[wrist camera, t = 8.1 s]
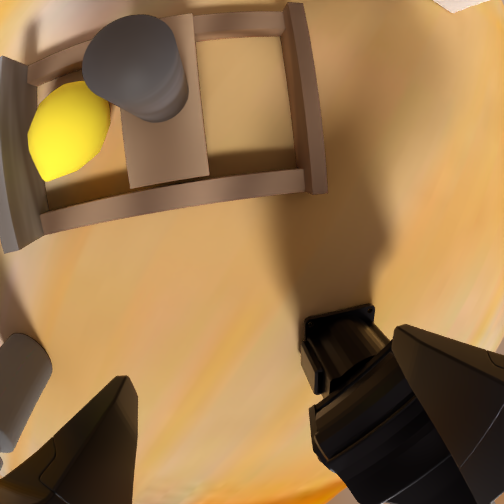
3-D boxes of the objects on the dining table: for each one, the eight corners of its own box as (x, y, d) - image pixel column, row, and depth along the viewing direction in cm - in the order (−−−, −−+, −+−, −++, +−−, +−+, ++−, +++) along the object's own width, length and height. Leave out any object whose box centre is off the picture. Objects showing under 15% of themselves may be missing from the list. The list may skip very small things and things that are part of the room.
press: (291, 20, 16) (312, -11, 11) (312, 187, 20) (341, 197, 16) (23, 76, 14) (-13, 65, 9) (39, 233, 18) (4, 253, 14)
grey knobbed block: (195, 46, 16) (186, -54, 5) (209, 171, 19) (209, 186, 8) (137, 56, 15) (77, -26, 5) (150, 180, 18) (82, 210, 8)
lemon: (80, 82, 16) (52, 54, 11) (136, 107, 17) (121, 80, 12) (34, 167, 16) (-5, 161, 11) (88, 196, 18) (57, 198, 13)
